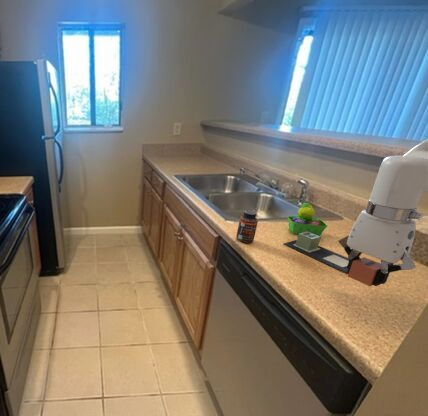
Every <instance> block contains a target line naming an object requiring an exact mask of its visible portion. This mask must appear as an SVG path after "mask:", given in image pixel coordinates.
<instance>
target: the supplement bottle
mask: <svg viewBox="0 0 428 416" xmlns="http://www.w3.org/2000/svg"><path fill="white" fill-rule="evenodd" d="M258 222H259V220H258V218H257V212H255V211H253V210H249V209H247V210H244V211H243V215H240V217H239V221H238V226H237V231H236V236H235V237H236V238H235V239H236V240H237V241H238V242H241V243H244V244H251V243H253V242H254V240H255V236H256V232H257V227H258Z"/></svg>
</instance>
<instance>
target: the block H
mask: <svg viewBox="0 0 428 416" xmlns="http://www.w3.org/2000/svg"><path fill="white" fill-rule="evenodd" d="M321 238H322V236H321V235H320V236H318V235H315V234H313V233H310V232H303V233H299V234H297V238H296V240H297V242H296V245H297V246H299V247H301V248H303V249H306V250H308V251H310V250H313V249H317V247H318V246H319V244H320V241H321Z"/></svg>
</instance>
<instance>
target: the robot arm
mask: <svg viewBox="0 0 428 416" xmlns="http://www.w3.org/2000/svg"><path fill="white" fill-rule="evenodd" d="M425 192H426V193H427V192H428V138H426V139H425V140H423V141H421V142H420V143H418V144H417V145H416V146H414V147H412V148H411V149H409V151H407V152H406V153H405V154H403V155H389V156H387V157H385V158H384V159H383V160H382V162H381V163H380V165H379V169H378V172H377V175H376V178H375V180H374V184H373V188H372V190H371V193H370V196H369V199H368V202H367V205H366V208H365V209H364V210H362V211H361V212H360V213H359V215H358V217H357V218H356V219H355V222H354V223H353V226H352V228H351V229H350V232H349V234H348V235H346V236H344V237H342V238H341V239H339V240H338V243H339V244H340V246H341V247H342V248H343V250H344V252H345V254H347V258H349V259H350V260H349V263H348V266H347V269H348V271H347V274H349V272H350V269H351V266H352V263H353V261H355V260H357V259H360V258H361V256H362V254H364V255H366V256H370V257H373V258H375V259H378V260H380V263H381V269H380V271H378V272H377V273H376V276H375V279H374V281H373V285H372V286H374V287H378V286H380V285H384V284H386V283H387V281H388V279H389V276H390V273H394V272H399V271H411V270H414V269H416V267H417V266H416V264H415V262H414V260H413V259H412V257H411V255H410V254H411V250H412V246H413V244H414V240H415V234H416V231H417V229H416V228H417V221H416V220H418V221H420V220H422V219H423V217H424V213H420V212H419V211H418V208H417V206H418V204H419V201H420V199H421V197H422V194H423V193H425ZM400 260H401V262H402V263H399V261H400Z"/></svg>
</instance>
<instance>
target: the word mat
mask: <svg viewBox="0 0 428 416" xmlns="http://www.w3.org/2000/svg"><path fill="white" fill-rule="evenodd" d="M296 242H297V239H295V240H291V241H288V242H284V243H283V244H282V245H283V246H285V247H288V248H289V249H292V250H294V251H296V252H299V253H300V254H303V255H306V256H307V257H309V258H312V259H314V260H315V261H318V262H320V263H321V264H324V265H326V266H329V267H331V268H333V269H334V270H337V271H339V272H342V273H343V274H347V271H348V269H347V266H348V263H349V260H350V259H349V258H348V256H344V255H342V254H340V253H337V252H335V251H333V250H330V249H327V248H325V247H323V246H321V245H318V247H317V249H313V250H310V251H308V250H306V249H303V248H301V247H299V246H297V245H296Z"/></svg>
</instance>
